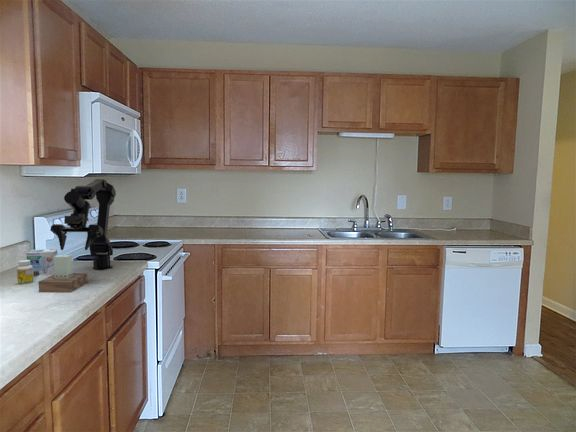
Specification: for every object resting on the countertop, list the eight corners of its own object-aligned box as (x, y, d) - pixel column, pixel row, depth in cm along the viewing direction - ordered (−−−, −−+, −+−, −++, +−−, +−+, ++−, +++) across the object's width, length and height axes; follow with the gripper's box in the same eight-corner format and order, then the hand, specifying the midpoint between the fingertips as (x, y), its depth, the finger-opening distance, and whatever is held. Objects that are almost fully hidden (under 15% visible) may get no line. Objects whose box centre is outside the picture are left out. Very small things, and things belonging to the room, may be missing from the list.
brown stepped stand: (57, 281, 169) (57, 270, 169) (96, 282, 170) (96, 271, 169) (27, 296, 150) (27, 284, 149) (72, 296, 150) (71, 284, 149)
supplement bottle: (36, 283, 166) (35, 260, 165) (22, 286, 162) (21, 262, 161) (28, 281, 169) (27, 258, 168) (15, 284, 164) (13, 261, 163)
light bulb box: (26, 277, 176) (25, 252, 175) (32, 273, 183) (30, 249, 181) (54, 275, 179) (53, 251, 178) (58, 272, 185) (57, 248, 184)
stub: (60, 285, 161) (59, 254, 160) (73, 285, 162) (72, 254, 160) (54, 288, 157) (53, 256, 156) (68, 288, 157) (66, 257, 156)
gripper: (47, 205, 161) (39, 243, 155) (96, 206, 162) (90, 243, 156) (60, 216, 171) (52, 252, 165) (106, 216, 173) (100, 252, 167)
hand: (73, 249), depth 163 cm, fingers open, 9 cm apart
